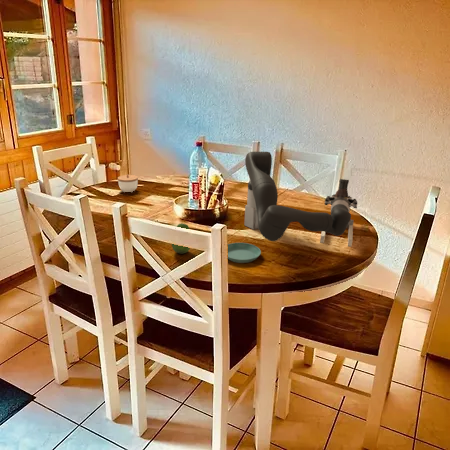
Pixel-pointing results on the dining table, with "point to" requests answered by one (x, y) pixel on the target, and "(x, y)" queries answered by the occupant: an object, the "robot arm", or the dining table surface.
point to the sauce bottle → (342, 189)
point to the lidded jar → (128, 183)
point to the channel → (350, 234)
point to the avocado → (180, 248)
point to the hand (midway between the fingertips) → (341, 197)
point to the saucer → (242, 252)
